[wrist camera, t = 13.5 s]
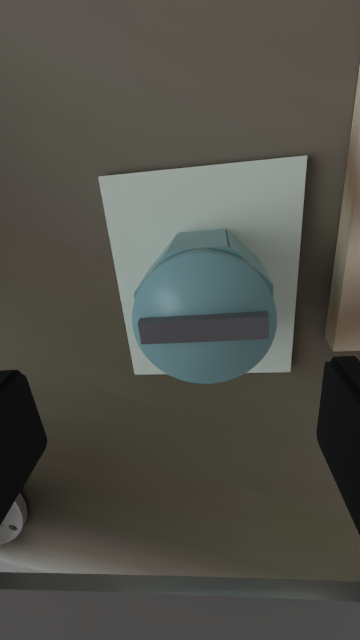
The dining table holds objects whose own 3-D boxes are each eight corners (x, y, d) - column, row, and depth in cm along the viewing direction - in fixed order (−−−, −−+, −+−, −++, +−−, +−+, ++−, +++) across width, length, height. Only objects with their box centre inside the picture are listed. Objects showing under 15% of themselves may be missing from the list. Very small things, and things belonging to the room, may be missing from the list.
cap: (260, 225, 16) (282, 250, 11) (259, 329, 18) (277, 389, 13) (145, 235, 16) (116, 263, 11) (160, 334, 19) (141, 392, 14)
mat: (288, 366, 20) (290, 372, 19) (136, 369, 21) (134, 374, 20) (303, 155, 15) (307, 155, 14) (101, 176, 16) (98, 176, 15)
